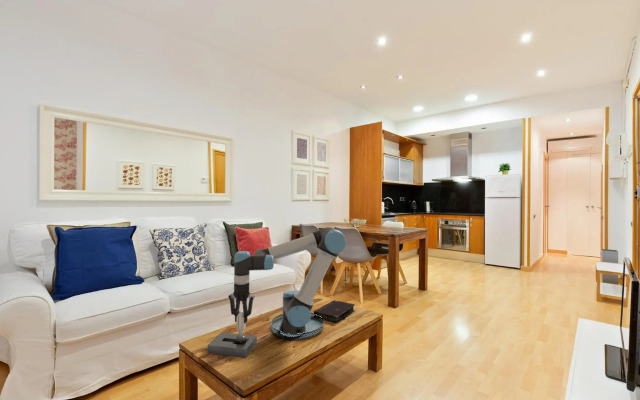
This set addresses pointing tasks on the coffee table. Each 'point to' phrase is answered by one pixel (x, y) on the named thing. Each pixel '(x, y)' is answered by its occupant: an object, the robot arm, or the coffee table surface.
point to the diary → (335, 311)
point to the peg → (240, 328)
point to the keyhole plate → (232, 345)
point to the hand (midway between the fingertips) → (241, 328)
